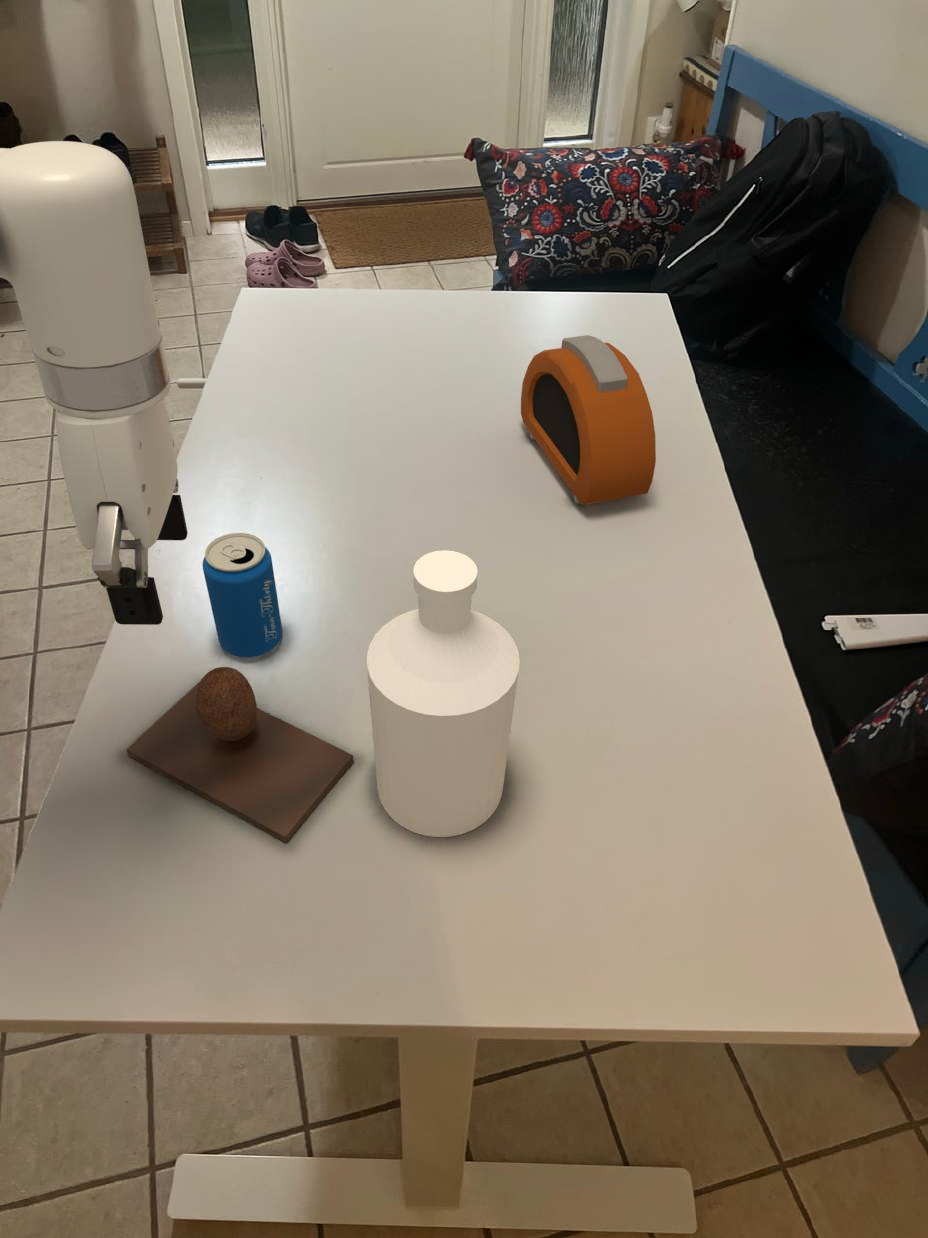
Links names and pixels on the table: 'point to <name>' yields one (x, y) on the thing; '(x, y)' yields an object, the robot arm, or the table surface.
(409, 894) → the table surface
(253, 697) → the coconut
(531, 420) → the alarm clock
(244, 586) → the beverage can
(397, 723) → the bottle
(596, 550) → the table surface
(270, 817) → the walnut board
